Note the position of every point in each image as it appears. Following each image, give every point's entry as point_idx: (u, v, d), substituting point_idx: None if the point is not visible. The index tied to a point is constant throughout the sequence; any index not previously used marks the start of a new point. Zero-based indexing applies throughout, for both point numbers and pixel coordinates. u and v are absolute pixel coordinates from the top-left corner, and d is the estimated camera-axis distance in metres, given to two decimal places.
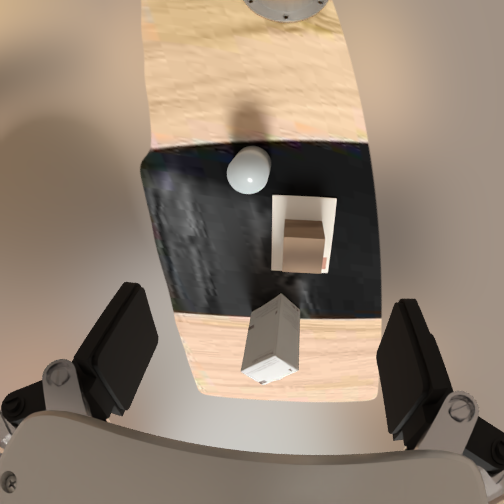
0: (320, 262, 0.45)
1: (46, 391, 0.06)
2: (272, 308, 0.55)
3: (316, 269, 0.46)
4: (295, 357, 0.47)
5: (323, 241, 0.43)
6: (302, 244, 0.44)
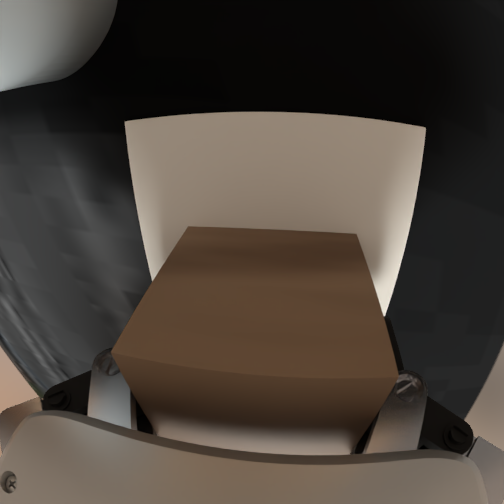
0: (342, 450, 0.07)
1: (94, 378, 0.07)
2: None
3: None
4: None
5: (382, 388, 0.05)
6: (240, 399, 0.06)
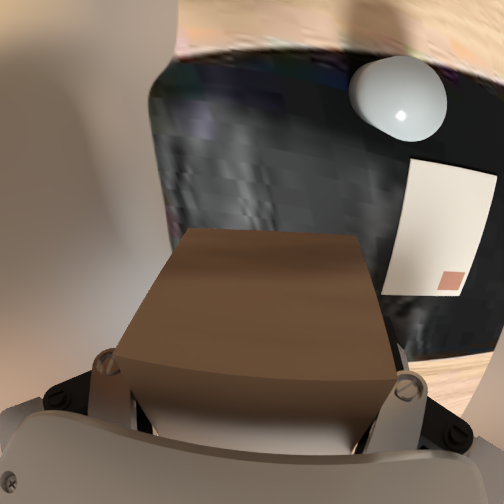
0: (341, 451, 0.07)
1: (94, 378, 0.07)
2: None
3: None
4: None
5: (382, 390, 0.05)
6: (241, 400, 0.06)
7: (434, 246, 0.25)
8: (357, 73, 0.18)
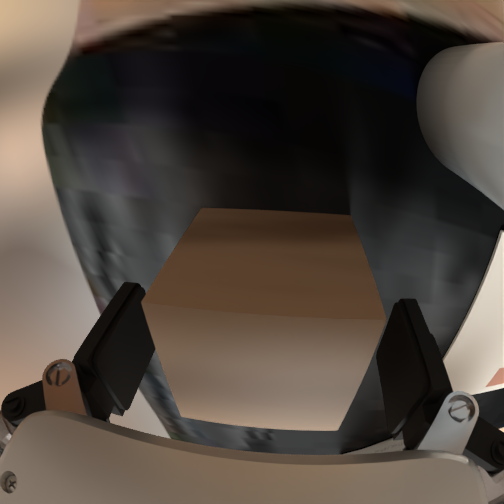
0: (341, 405, 0.09)
1: (46, 391, 0.06)
2: None
3: (320, 422, 0.09)
4: None
5: (373, 331, 0.07)
6: (253, 342, 0.07)
7: (498, 345, 0.14)
8: (443, 64, 0.07)
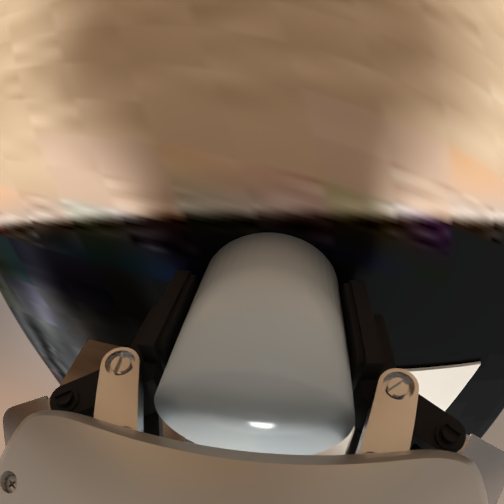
0: None
1: (101, 377, 0.07)
2: None
3: None
4: None
5: None
6: None
7: None
8: (199, 285, 0.11)
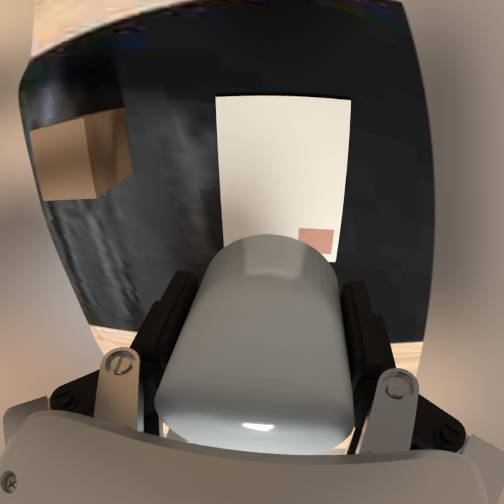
0: (88, 172, 0.19)
1: (101, 377, 0.07)
2: None
3: (86, 189, 0.19)
4: None
5: (81, 123, 0.17)
6: (54, 138, 0.17)
7: (274, 195, 0.24)
8: (199, 287, 0.11)
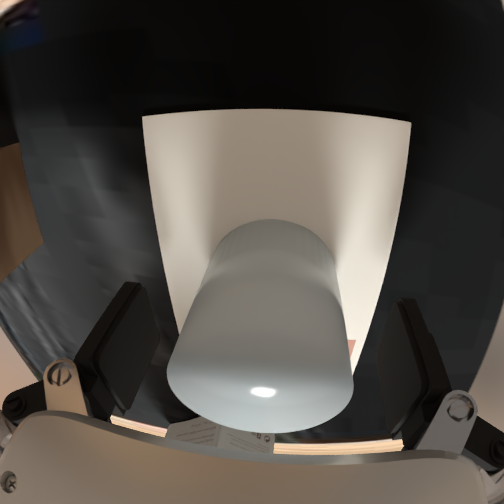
0: None
1: (47, 391, 0.06)
2: (201, 444, 0.18)
3: None
4: None
5: None
6: None
7: None
8: (207, 268, 0.12)
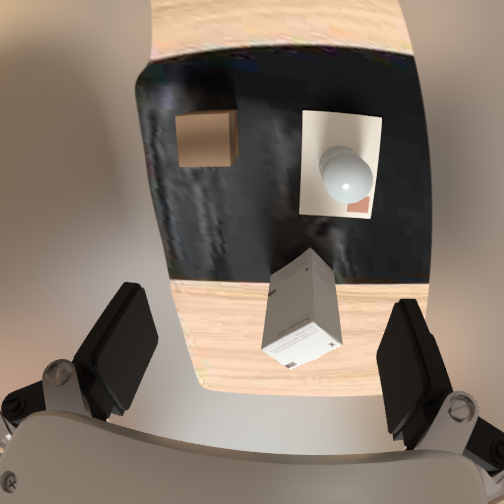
0: (227, 148, 0.32)
1: (46, 391, 0.06)
2: (301, 265, 0.42)
3: (223, 160, 0.32)
4: (337, 327, 0.34)
5: (226, 117, 0.30)
6: (200, 123, 0.30)
7: None
8: (323, 159, 0.35)
